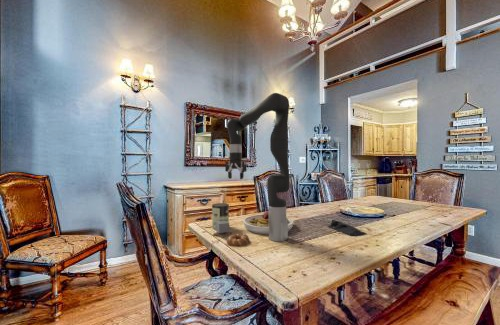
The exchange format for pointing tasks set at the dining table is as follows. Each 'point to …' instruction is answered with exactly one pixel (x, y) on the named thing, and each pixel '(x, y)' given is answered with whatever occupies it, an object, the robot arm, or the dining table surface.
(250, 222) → the bowl
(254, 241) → the dining table surface
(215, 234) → the brown base with peg
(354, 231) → the dark slate chunk
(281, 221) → the robot arm
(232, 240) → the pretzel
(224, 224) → the matte grey box
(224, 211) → the coffee can
